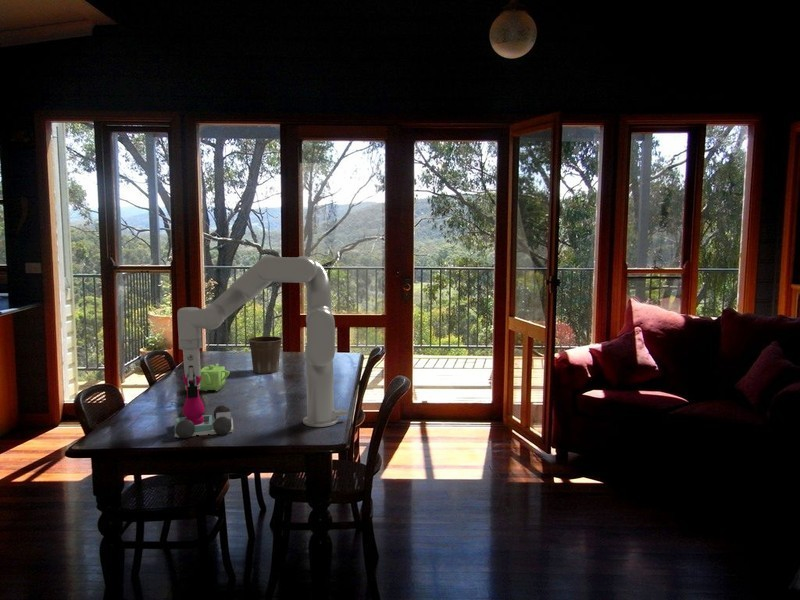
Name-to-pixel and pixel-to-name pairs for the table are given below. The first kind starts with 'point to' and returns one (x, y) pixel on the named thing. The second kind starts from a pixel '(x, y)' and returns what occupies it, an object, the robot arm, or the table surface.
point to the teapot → (213, 377)
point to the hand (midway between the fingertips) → (193, 394)
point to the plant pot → (265, 353)
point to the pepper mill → (193, 404)
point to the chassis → (205, 424)
